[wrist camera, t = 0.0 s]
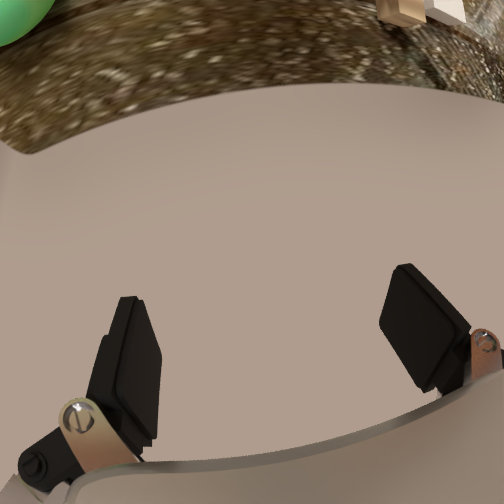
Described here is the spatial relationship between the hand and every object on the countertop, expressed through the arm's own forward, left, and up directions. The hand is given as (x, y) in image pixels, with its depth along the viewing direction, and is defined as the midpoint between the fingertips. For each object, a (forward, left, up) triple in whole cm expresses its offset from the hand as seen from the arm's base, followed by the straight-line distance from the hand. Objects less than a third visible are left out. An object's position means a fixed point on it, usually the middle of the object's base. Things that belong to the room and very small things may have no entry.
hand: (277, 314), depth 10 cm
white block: (-31, +36, -32) cm, 57 cm away
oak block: (-25, +26, -31) cm, 48 cm away
